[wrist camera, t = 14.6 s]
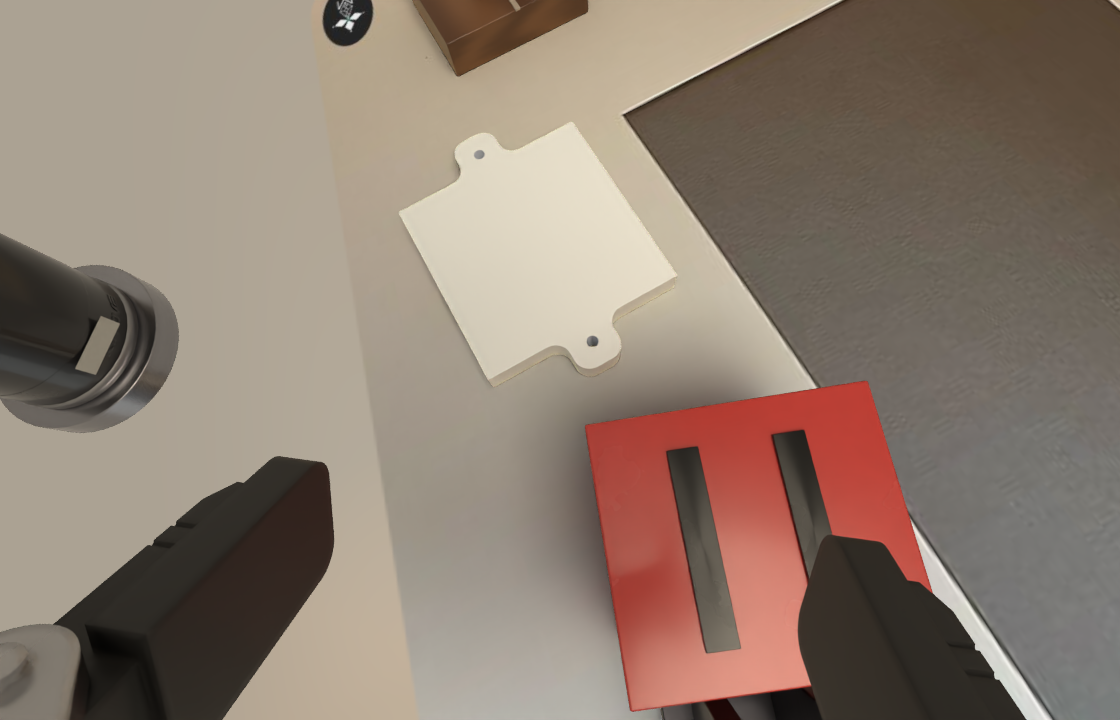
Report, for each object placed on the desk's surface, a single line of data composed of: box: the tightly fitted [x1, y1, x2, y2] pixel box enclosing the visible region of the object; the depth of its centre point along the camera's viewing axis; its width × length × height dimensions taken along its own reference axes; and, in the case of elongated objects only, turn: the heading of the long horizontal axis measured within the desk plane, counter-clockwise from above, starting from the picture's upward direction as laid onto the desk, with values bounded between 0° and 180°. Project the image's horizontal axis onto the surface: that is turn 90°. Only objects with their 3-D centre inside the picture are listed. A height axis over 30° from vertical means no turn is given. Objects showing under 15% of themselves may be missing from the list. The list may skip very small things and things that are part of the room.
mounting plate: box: [398, 121, 678, 387], centre depth 37 cm, size 18×13×2 cm
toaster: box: [585, 381, 933, 712], centre depth 26 cm, size 10×11×12 cm
